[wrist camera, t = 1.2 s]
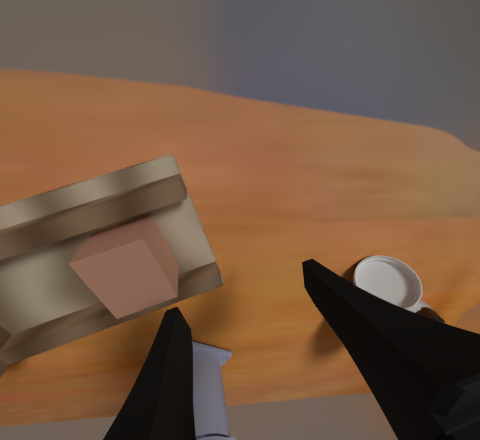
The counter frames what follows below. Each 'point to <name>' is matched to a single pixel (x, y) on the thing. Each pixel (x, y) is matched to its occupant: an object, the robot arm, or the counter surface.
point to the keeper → (128, 266)
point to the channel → (71, 240)
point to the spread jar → (393, 284)
